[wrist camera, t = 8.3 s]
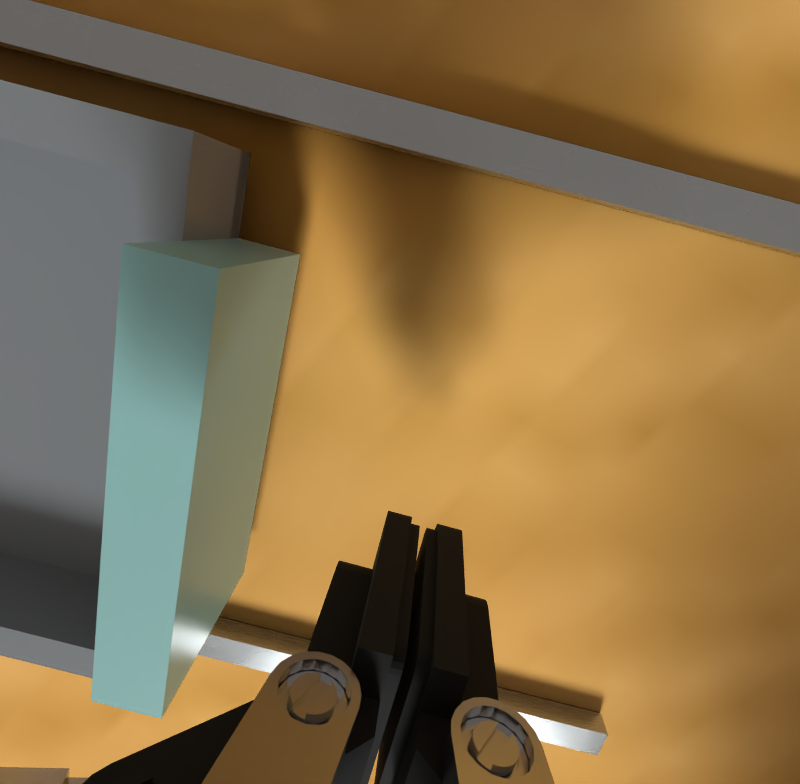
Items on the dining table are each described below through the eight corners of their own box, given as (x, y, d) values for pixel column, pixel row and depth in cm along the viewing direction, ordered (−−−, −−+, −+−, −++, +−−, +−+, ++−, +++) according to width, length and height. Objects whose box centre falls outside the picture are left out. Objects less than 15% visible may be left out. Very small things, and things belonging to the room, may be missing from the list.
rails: (849, 224, 13) (970, 223, 10) (590, 733, 18) (619, 826, 15) (-576, -153, 12) (-883, -270, 9) (-389, 486, 18) (-546, 535, 15)
